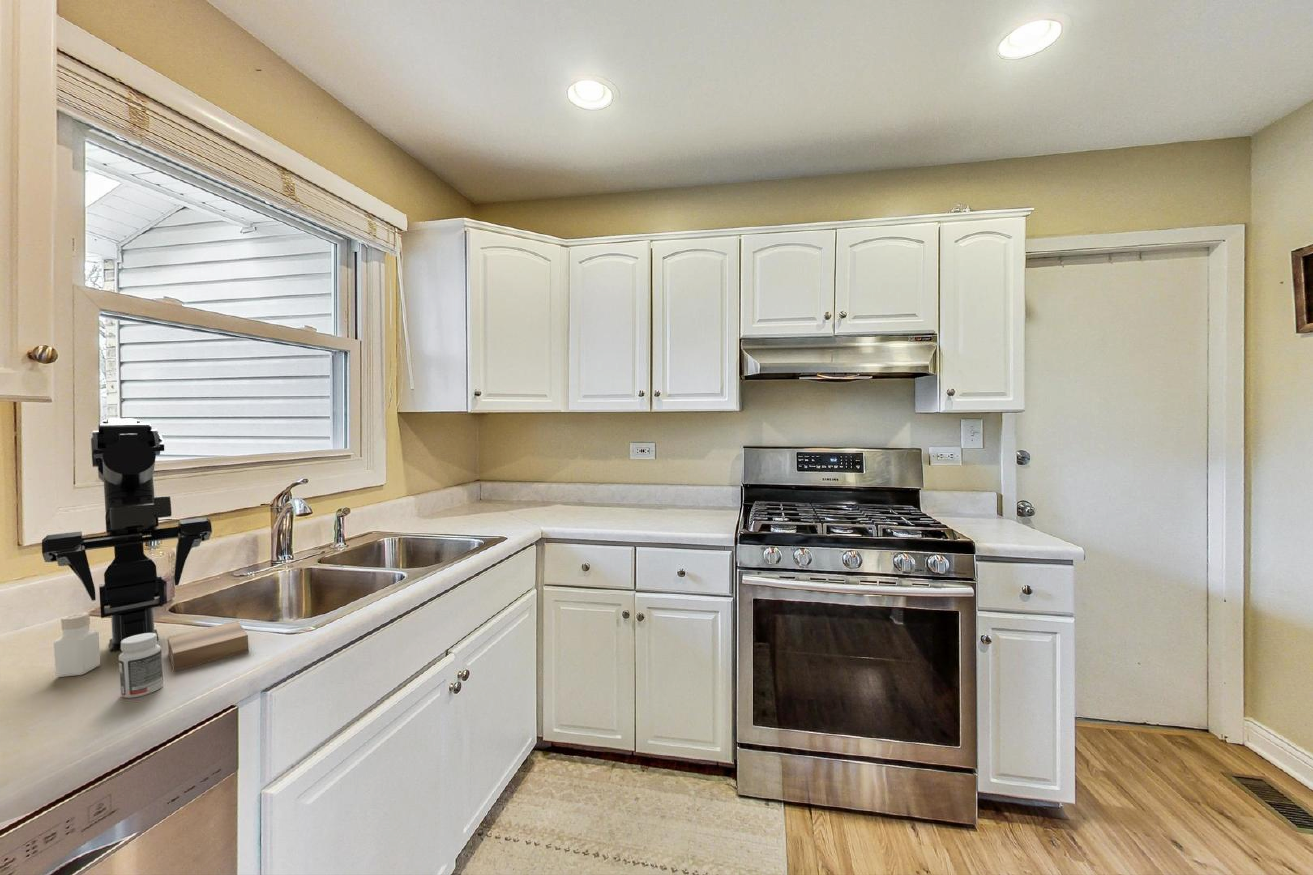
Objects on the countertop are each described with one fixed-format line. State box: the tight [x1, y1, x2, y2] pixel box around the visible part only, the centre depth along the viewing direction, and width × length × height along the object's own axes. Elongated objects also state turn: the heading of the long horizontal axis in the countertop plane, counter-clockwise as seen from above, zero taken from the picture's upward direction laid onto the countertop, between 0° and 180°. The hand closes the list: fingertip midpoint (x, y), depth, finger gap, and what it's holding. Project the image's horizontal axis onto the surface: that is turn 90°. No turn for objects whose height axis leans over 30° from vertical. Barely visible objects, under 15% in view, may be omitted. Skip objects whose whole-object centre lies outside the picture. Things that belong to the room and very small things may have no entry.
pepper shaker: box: [53, 612, 101, 678], centre depth 90 cm, size 4×4×10 cm
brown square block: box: [167, 620, 250, 672], centre depth 96 cm, size 10×10×3 cm
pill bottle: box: [118, 633, 164, 699], centre depth 83 cm, size 5×5×8 cm
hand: (136, 592), depth 83 cm, fingers open, 9 cm apart
